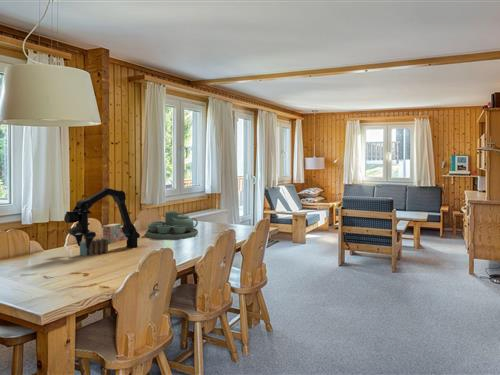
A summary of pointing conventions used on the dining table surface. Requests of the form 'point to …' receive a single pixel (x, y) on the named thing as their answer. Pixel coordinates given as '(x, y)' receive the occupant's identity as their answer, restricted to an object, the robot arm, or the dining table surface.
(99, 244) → the domino
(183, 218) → the tea set
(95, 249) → the domino
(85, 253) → the end domino
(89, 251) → the domino
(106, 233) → the stack of blocks
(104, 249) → the domino
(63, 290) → the dining table surface
